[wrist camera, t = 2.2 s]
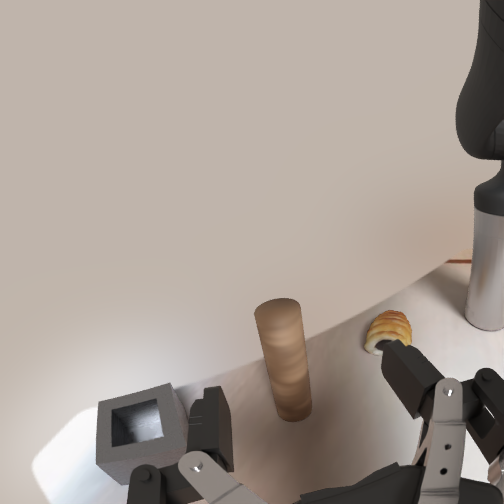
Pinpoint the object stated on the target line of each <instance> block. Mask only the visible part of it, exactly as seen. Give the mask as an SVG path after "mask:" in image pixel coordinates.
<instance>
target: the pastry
mask: <svg viewBox="0 0 504 504" xmlns="http://www.w3.org/2000/svg"><path fill="white" fill-rule="evenodd" d="M411 333H412V330H411V326H410V324H409V321H408V320H407V318H406V316H405V315H404V313H402V312H398V311H393V310H388V311H385V312H384V313H383V314H380V315H379V316H378V317H376V318H375V320H374V322H373V323H372V324H371V326H370V328H369V330H368V332H367V337H366V343H365V345H364V347H365V350H366V351H368V353H371V354H373V355H383V347H384V344H386V343H388V342H391V341H394V340H396V339H399V340H401V341H402V343H403V344H404V345H405V346H407V345H411V342H412V338H411Z"/></svg>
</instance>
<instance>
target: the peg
mask: <svg viewBox="0 0 504 504" xmlns="http://www.w3.org/2000/svg"><path fill="white" fill-rule="evenodd" d="M254 315H255V320H256V324H257V328H258V332H259V336H260V341H261V345H262V349H263V353H264V358H265V362H266V366H267V370H268V374H269V378H270V382H271V387H272V391H273V395H274V399H275V403H276V407H277V411H278V414H279V416H280V417H281V418H282V419H283V420H285V421H289V422H297V421H301V420H303V419H305V418H306V417H307V416H309V414H310V413H311V411H312V400H311V390H310V381H309V371H308V363H307V354H306V346H305V338H304V330H303V323H302V315H301V307H300V304H299V303H298V302H297V301H295V300H293V299H289V298H279V299H273V300H270V301H267V302H265V303H263V304H261V305H260V306H258V307H257V308H256V310H255V312H254Z"/></svg>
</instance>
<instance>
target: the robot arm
mask: <svg viewBox="0 0 504 504" xmlns="http://www.w3.org/2000/svg"><path fill="white" fill-rule="evenodd" d="M456 130H457V135H458V138H459V141H460V143H461V145H462V147H463V148H464V150H465V151H466V152H467V153H468V154H469V155H471V156H473V157H475V158H478V159H487V160H501V169H500V171H499V172H498V173H497V175H496V176H495V177H493V178H492V179H490V180H489V181H486V182H484V183H482V184H480V185H478V186H477V187H476V188H475V191H474V240H473V255H472V265H471V274H470V282H469V288H468V295H467V299H466V306H465V316H466V318H467V320H468V321H469V322H470V323H471V324H472V325H474V326H475V327H478V328H480V329H483V330H489V331H495V330H500V329H502V328H504V0H480V10H479V30H478V39H477V46H476V50H475V55H474V59H473V63H472V66H471V69H470V72H469V74H468V77H467V79H466V82H465V84H464V86H463V88H462V91H461V93H460V95H459V99H458V102H457V107H456ZM381 369H382V373H383V376H384V378H385V379H386V380H387V382H388V383H389V385H390V386H391V388H392V389H393V390H394V392H395V393H396V395H397V396H398V398H399V399H400V400H401V402H402V403H403V405H404V406H405V408H406V409H407V411H408V412H409V414H410V415H411V417H412V418H413V419H416V418H418V417H420V416H421V417H422V418H423V421H422V426H421V431H420V436H419V441H418V446H417V450H416V454H415V457H414V459H413V462H412V464H411V465H405V466H399V465H398V463H397V462H395V463H393V464H391V465H389V466H387V467H384V468H382V469H380V470H377V471H375V472H374V473H372V474H370V475H369V476H367V477H366V478H364V479H363V480H361V481H360V482H358V483H356V484H355V485H352V486H346V487H337V488H326V489H322V490H318V491H315V492H311V493H306V494H302V495H300V497H301V500H299V501H297V502H295V503H293V504H504V380H503V379H502V378H501V377H500V376H499V375H498V374H497V373H496V372H495V371H494V370H493V369H490V368H482V369H480V370H478V371H477V373H476V375H475V377H474V378H473V379H470V380H466V381H463V382H459V381H458V380H456V379H454V378H445V377H444V376H443V375H442V374H441V373H440V372H439V371H438V370H437V369H436V368H435V367H434V366H433V364H432V363H431V362H430V361H428V359H427V358H426V357H425V356H423V354H422V353H421V352H420V351H419V350H418V349H417V348H415V347H413V346H411V345H407V346H405V345H404V344H403V343H402V341H401V340H399V339H396V340H394V341H391V342H388V343H386V344H384V347H383V356H382V364H381ZM485 406H486V407H487V408H488V410H489V411H490V412H491V413H492V415H493V416H494V418H495V419H494V418H493V416H492V415H491V414H490V413H489V411H488V410H487V409H486V407H485ZM466 429H467V431H468V432H469V434H470V435H471V437H472V438H473V440H474V441H475V443H476V444H477V446H478V447H479V449H480V451H481V452H482V454H483V455H484V457H485V459H486V460H487V462H488V463H489V465H490V466H489V469H488V477H487V479H488V481H489V482H490V483H485V482H480V481H475V480H470V479H466V478H462V477H461V470H462V464H463V456H464V447H465V435H466ZM228 472H234V464H233V447H232V428H231V413H230V409H229V406H228V403H227V401H226V398H225V396H224V393H223V390H222V388H221V386H216V387H208V388H204V397H203V399H197V400H195V402H194V403H193V405H192V407H191V409H190V418H189V428H188V438H187V449H186V453H185V455H183V456H182V457H181V459H180V460H179V462H177V463H176V464H173V465H170V466H166V467H162V468H159V469H157V468H156V467H155V466H153V465H150V464H143V465H140V466H138V467H136V468H135V469H134V470H133V471H132V473H131V476H130V482H129V490H128V498H127V504H188V503H191V502H195V501H198V500H202V499H205V500H206V501H207V502H208V503H209V504H268V503H267V502H265V501H264V500H263V499H261V498H260V497H259V496H257V495H256V494H255V493H254V492H252V491H251V490H250V489H248V488H247V487H246V486H244V485H243V484H240V483H238V482H237V481H236V480H235V479H234V478H232V477H231V476H230V475H229V474H228Z"/></svg>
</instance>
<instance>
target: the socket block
mask: <svg viewBox="0 0 504 504" xmlns="http://www.w3.org/2000/svg"><path fill="white" fill-rule="evenodd" d="M188 428H189V422H188V419H187V415H186V412H185V409H184V407H183V405H182V403H181V402H180V400H179V398H178V396H177V394H176V393H175V391H174V389H173V387H172V385H171V383H168V384H164V385H161V386H158V387H154V388H151V389H148V390H143V391H140V392H136V393H132V394H129V395H125V396H121V397H117V398H113V399H108V400H105V401H100V402H99V404H98V416H97V434H96V465H98V466H99V467H100V468H101V469H102V470H103V471H104V472H106V473H107V474H108V475H109V476H110V477H112V478H113V479H114V480H115V481H117V482H118V483H119V484H120V485H128V484H129V482H130V476H131V473H132V471H133V470H134V469H135V468H136V467H138V466H140V465H143V464H150V465H153V466H155V467H156V468H157V469H159V468H162V467H166V466H170V465H173V464H176V463H177V462H179V460H180V459H181V457H182V456H183V455H185V453H186V449H187V438H188Z"/></svg>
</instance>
